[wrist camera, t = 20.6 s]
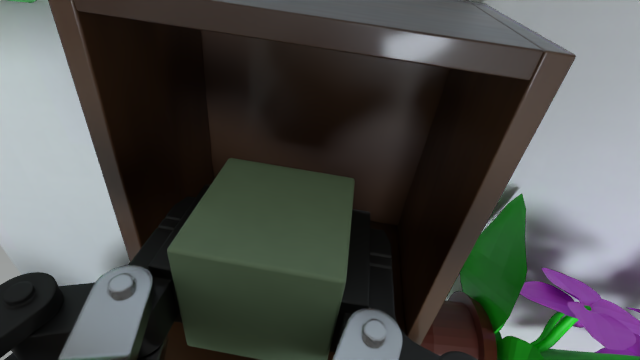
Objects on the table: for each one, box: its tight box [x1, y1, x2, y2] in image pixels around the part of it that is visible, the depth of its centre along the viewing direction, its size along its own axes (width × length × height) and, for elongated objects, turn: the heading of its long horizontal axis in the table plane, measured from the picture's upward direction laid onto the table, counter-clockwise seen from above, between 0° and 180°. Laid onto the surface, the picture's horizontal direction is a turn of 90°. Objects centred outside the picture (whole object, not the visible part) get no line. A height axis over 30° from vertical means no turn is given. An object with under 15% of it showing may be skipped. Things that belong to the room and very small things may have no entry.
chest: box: [48, 0, 576, 345], centre depth 14 cm, size 12×12×8 cm
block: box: [167, 158, 355, 360], centre depth 10 cm, size 4×4×4 cm
